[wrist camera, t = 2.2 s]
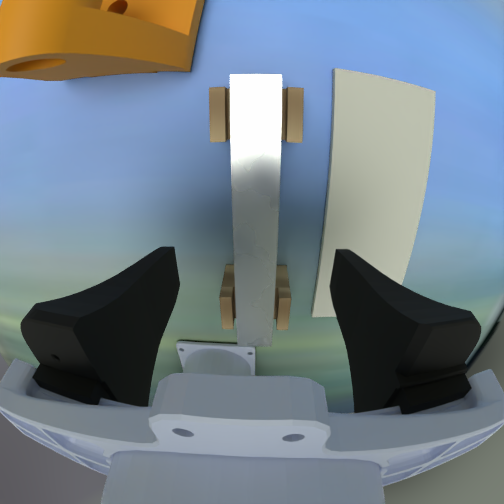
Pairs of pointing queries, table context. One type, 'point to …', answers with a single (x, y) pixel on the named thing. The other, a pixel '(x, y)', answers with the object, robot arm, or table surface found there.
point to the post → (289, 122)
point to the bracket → (96, 37)
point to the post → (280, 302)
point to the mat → (374, 175)
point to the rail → (255, 200)
